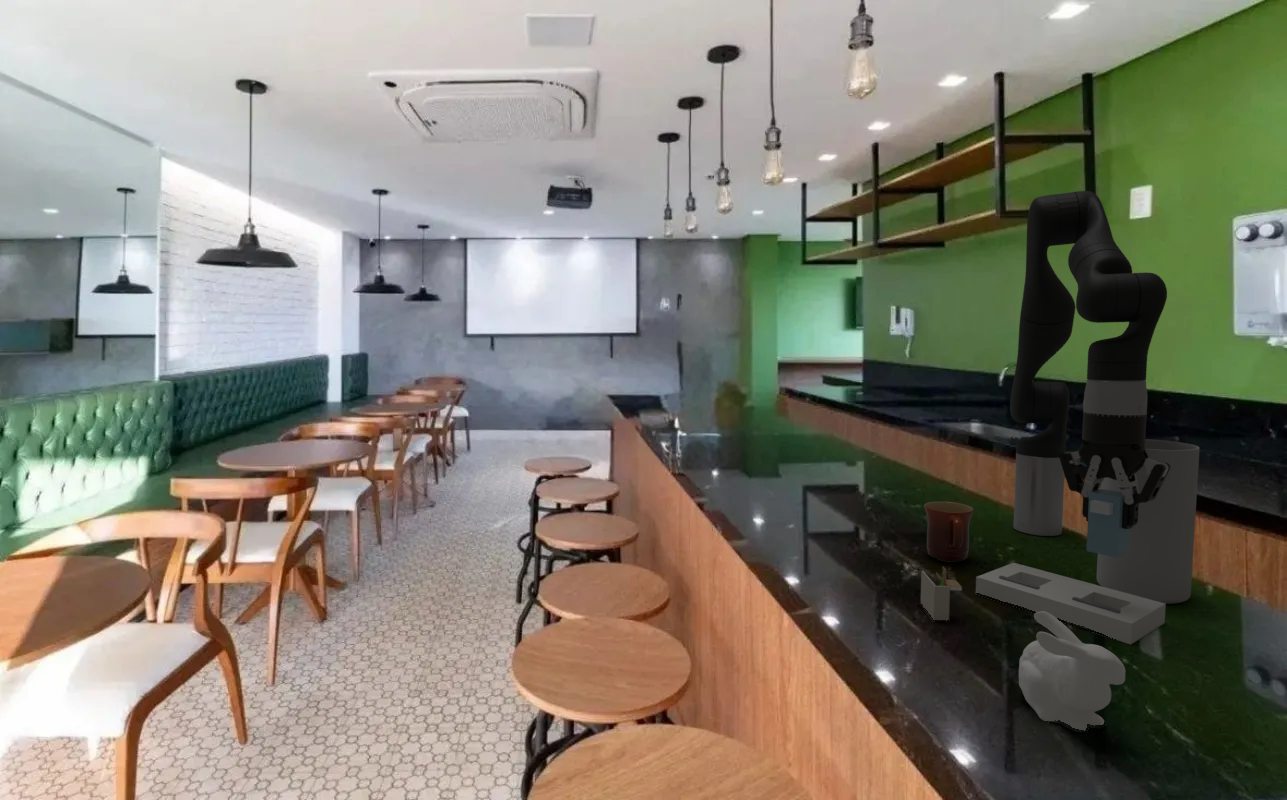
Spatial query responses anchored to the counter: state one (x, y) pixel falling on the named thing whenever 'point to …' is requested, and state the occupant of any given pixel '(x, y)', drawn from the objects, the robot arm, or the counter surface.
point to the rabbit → (1067, 675)
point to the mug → (948, 530)
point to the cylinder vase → (1159, 531)
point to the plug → (1107, 524)
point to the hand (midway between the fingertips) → (1108, 523)
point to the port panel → (1074, 601)
